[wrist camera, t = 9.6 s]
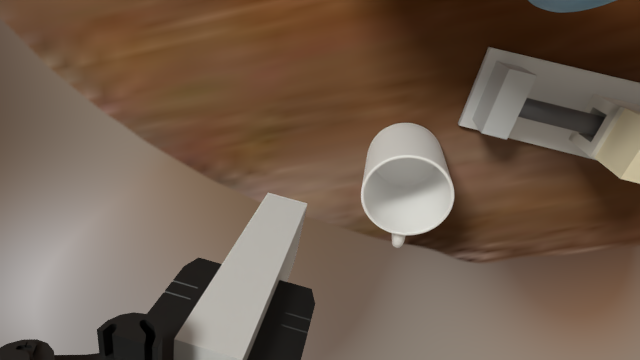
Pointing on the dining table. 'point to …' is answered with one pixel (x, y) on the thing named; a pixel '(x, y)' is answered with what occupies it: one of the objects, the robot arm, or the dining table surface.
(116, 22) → the dining table surface
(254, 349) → the robot arm
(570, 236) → the dining table surface
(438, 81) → the dining table surface
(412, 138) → the cup
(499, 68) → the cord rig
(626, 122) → the sleeve
